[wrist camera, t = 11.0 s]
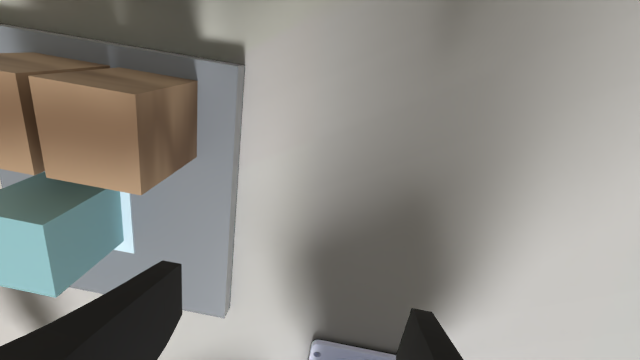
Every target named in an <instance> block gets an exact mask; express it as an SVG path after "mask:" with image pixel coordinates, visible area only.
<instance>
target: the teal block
mask: <svg viewBox="0 0 640 360" xmlns="http://www.w3.org/2000/svg"><path fill="white" fill-rule="evenodd" d="M123 241H124V236H123V223H122V210H121V197H120V191H115V190H110V189H104V188H99V187H94V186H88V185H83V184H78V183H72V182H67V181H62V180H56V179H51V178H46V174H45V172H42V173H40V174H37V175H35V176H32V177H30V178H27V179H25V180H22V181H20V182H17V183H15V184H12V185H10V186H7V187H5V188H2V189H0V286H2V287H7V288H12V289H17V290H22V291H26V292H31V293H36V294H41V295H45V296H50V297H55V298H56V297H57V296H59V295H60V294H61V293H62V292H63V291H65V290H66V289H67V288H68V287H69V286H71V285H72V284H73V283H74V282H75V281H77V280H78V279H79V278H80V277H81V276H83V275H84V274H85V273H86V272H87V271H89V270H90V269H91V268H92V267H93V266H95V265H96V264H97V263H98V262H99V261H101V260H102V259H103V258H104V257H105V256H106V255H108V254H109V253H110V252H111V251H112V250H114V249H115V248H116V247H117V246H118V245H120V244H121V243H122V242H123Z"/></svg>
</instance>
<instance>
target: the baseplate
mask: <svg viewBox="0 0 640 360" xmlns="http://www.w3.org/2000/svg"><path fill="white" fill-rule="evenodd" d="M28 52H34V53H40V54H46V55H52V56H57V57H63V58H69V59H75V60H80V61H86V62H92V63H98V64H103V65H109V66H110V68H117V67H121V68H126V69H132V70H138V71H144V72H150V73H155V74H161V75H167V76H173V77H178V78H184V79H190V80H196V81H198V92H197V157H196V158H195V159H193V160H192V161H190V162H189V163H187V164H186V165H185V166H183V167H182V168H180V169H179V170H177V171H176V172H174V173H173V174H172V175H170V176H169V177H167V178H166V179H164V180H163V181H161V182H160V183H159V184H157V185H156V186H154V187H153V188H151V189H150V190H148V191H147V192H146V193H144V194H143V195H136V194H131V193H125V192H120V197H121V210H122V223H123V236H124V241H123V242H122V243H121V244H120V245H118V246H117V247H116V248H115V249H114V250H112V251H111V252H110V253H109V254H108V255H106V256H105V257H104V258H103V259H102V260H101V261H99V262H98V263H97V264H96V265H95V266H93V267H92V268H91V269H90V270H89V271H87V272H86V273H85V274H84V275H83V276H81V277H80V278H79V279H78V280H77V281H75V282H74V283H73V284H72V285H71V286H69V287H71V288H76V289H81V290H86V291H91V292H96V293H101V294H105V293H107V292H109V291H111V290H112V289H114V288H116V287H118V286H119V285H121V284H123V283H125V282H126V281H128V280H130V279H131V278H133V277H135V276H136V275H138V274H140V273H141V272H143V271H145V270H147V269H148V268H150V267H152V266H153V265H155V264H157V263H159V262H161V261H162V260H164V261H169V262H174V263H180V264H182V310H185V311H190V312H195V313H200V314H205V315H210V316H215V317H220V318H225V316H226V314H227V312H228V310H229V308H230V295H231V279H232V263H233V247H234V231H235V215H236V199H237V183H238V167H239V151H240V135H241V119H242V103H243V88H244V72H245V65H240V64H234V63H229V62H223V61H217V60H211V59H205V58H199V57H193V56H187V55H182V54H176V53H170V52H164V51H158V50H152V49H146V48H141V47H135V46H129V45H123V44H117V43H111V42H105V41H100V40H94V39H88V38H82V37H76V36H70V35H64V34H59V33H53V32H47V31H41V30H35V29H29V28H23V27H17V26H12V25H6V24H0V53H28ZM44 172H45V171H44ZM39 174H40V173H39ZM32 176H35V175H30V174H25V173H19V172H14V171H9V170H3V169H0V180H1V184H2V188H5V187H7V186H10V185H12V184H15V183H17V182H20V181H22V180H25V179H27V178H30V177H32Z"/></svg>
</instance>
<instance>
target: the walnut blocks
mask: <svg viewBox="0 0 640 360" xmlns="http://www.w3.org/2000/svg"><path fill="white" fill-rule="evenodd" d="M197 92H198V81H196V80H190V79H184V78H178V77H173V76H167V75H161V74H155V73H150V72H144V71H138V70H132V69H126V68H121V67H117V68H110V66H109V65H103V64H98V63H92V62H86V61H80V60H75V59H69V58H63V57H57V56H52V55H46V54H40V53H34V52H28V53H0V169H3V170H9V171H14V172H19V173H25V174H30V175H37V174H39V173H42V172H44V171H45V174H46V178H51V179H56V180H62V181H67V182H72V183H78V184H83V185H88V186H94V187H99V188H104V189H110V190H115V191H120V192H125V193H131V194H136V195H143V194H144V193H146V192H147V191H148V190H150V189H151V188H153V187H154V186H156V185H157V184H159V183H160V182H161V181H163V180H164V179H166V178H167V177H169V176H170V175H172V174H173V173H174V172H176V171H177V170H179V169H180V168H182V167H183V166H185V165H186V164H187V163H189V162H190V161H192V160H193V159H195V158H196V157H197Z"/></svg>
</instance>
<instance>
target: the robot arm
mask: <svg viewBox="0 0 640 360" xmlns="http://www.w3.org/2000/svg"><path fill="white" fill-rule="evenodd" d="M181 316H182V264H180V263H174V262H169V261H164V260H162V261H161V262H159V263H157V264H155V265H153V266H152V267H150V268H148V269H147V270H145V271H143V272H141V273H140V274H138V275H136V276H135V277H133V278H131V279H130V280H128V281H126V282H125V283H123V284H121V285H119V286H118V287H116V288H114V289H112V290H111V291H109V292H107V293H105V294H104V295H102V296H100V297H99V298H97V299H95V300H93V301H91V302H89V303H88V304H86V305H84V306H82V307H80V308H78V309H76V310H74V311H72V312H71V313H69V314H67V315H65V316H63V317H61V318H59V319H57V320H55V321H54V322H52V323H50V324H48V325H46V326H44V327H41V328H39V329H37V330H35V331H33V332H31V333H29V334H27V335H25V336H22V337H20V338H18V339H16V340H13V341H11V342H9V343H7V344H5V345H2V346H0V360H157V359H158V357H159V356H160V354H161V353H162V351H163V350H164V348H165V347H166V345H167V343H168V341H169V339H170V337H171V335H172V334H173V332H174V330H175V328H176V326H177V324H178V322H179V320H180V318H181ZM309 360H463V358H462V357H461V355H460V354H459V352H458V351H457V349H456V348H455V346H454V345H453V343H452V342H451V340H450V339H449V337H448V336H447V334H446V333H445V331H444V330H443V328H442V327H441V325H440V323H439V322H438V320H437V319H436V317H435V316H434V314H433V313H432V312H429V311H424V310H418V309H413V308H412V309H411V312H410V315H409V318H408V321H407V324H406V327H405V330H404V333H403V336H402V339H401V343H400V346H399V349H398V352H397V355H393V354H388V353H383V352H378V351H373V350H368V349H363V348H358V347H353V346H348V345H343V344H339V343H334V342H329V341H324V340H314V341H313V342H312V345H311V350H310V355H309Z"/></svg>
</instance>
